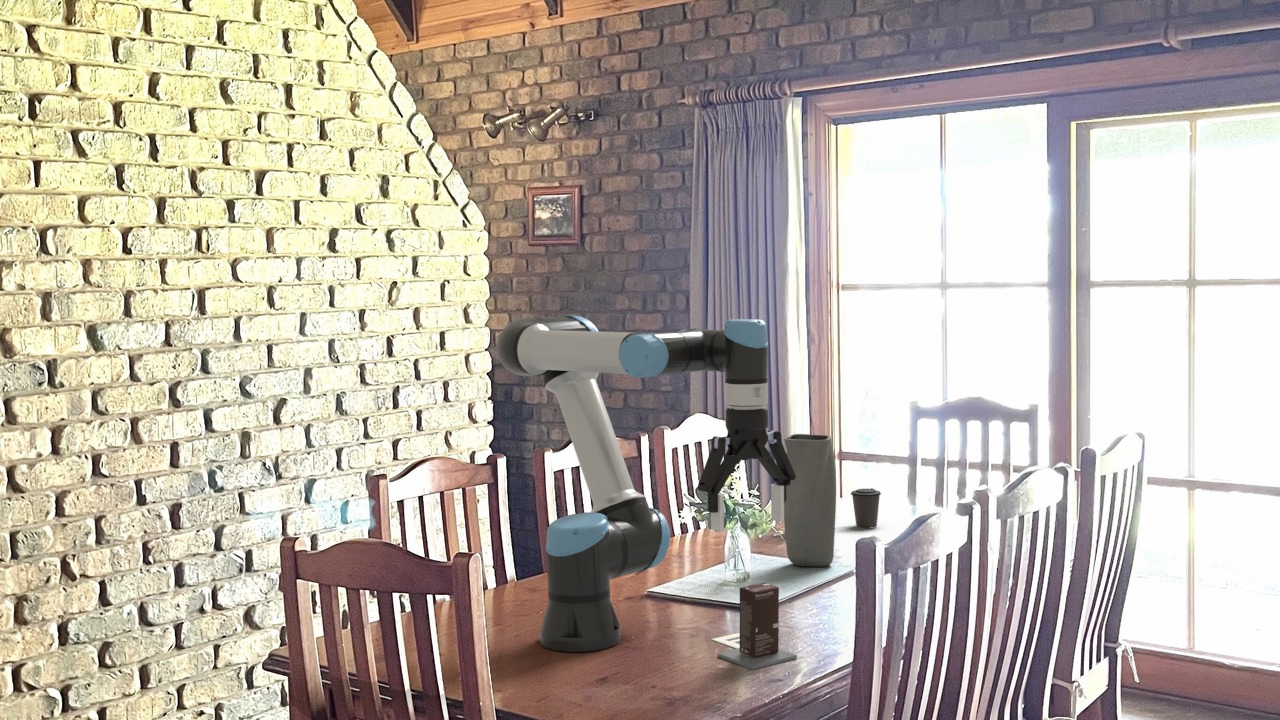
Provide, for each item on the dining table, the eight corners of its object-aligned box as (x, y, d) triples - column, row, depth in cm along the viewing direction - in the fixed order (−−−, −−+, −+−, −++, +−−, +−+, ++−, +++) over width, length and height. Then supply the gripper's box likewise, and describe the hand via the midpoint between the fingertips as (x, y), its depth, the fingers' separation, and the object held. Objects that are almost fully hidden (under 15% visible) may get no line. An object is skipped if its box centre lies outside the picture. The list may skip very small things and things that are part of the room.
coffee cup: (886, 524, 345) (885, 487, 344) (875, 530, 338) (874, 492, 337) (858, 522, 349) (857, 486, 348) (846, 528, 342) (845, 490, 341)
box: (755, 659, 226) (753, 591, 225) (738, 653, 230) (737, 587, 229) (781, 652, 229) (779, 586, 228) (764, 647, 233) (763, 581, 232)
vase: (795, 557, 309) (792, 432, 307) (844, 560, 303) (841, 434, 301) (776, 567, 298) (773, 439, 296) (826, 572, 292) (824, 440, 290)
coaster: (752, 669, 222) (752, 666, 222) (717, 656, 230) (717, 653, 230) (796, 658, 228) (796, 655, 228) (760, 646, 236) (760, 642, 236)
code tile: (738, 649, 234) (738, 648, 234) (711, 639, 241) (711, 638, 241) (767, 642, 238) (767, 641, 238) (740, 633, 245) (740, 632, 245)
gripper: (702, 414, 217) (704, 538, 219) (814, 403, 231) (815, 520, 233) (676, 410, 224) (678, 531, 225) (787, 399, 237) (788, 513, 239)
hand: (748, 525), depth 229 cm, fingers open, 13 cm apart
